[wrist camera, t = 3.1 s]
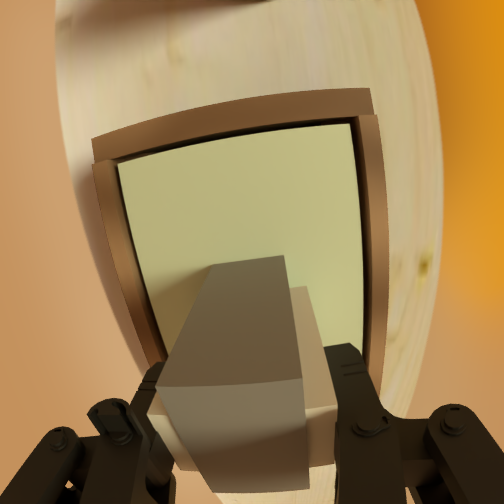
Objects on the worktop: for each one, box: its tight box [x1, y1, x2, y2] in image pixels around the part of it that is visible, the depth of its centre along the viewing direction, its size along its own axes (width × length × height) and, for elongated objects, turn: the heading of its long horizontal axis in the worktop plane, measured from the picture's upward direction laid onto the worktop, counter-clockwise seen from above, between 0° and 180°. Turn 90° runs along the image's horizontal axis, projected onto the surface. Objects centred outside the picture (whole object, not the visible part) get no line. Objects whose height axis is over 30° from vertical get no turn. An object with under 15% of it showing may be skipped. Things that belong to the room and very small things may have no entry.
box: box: [91, 88, 389, 397], centre depth 15 cm, size 16×12×6 cm
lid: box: [118, 124, 363, 493], centre depth 10 cm, size 15×10×9 cm, turn 9°
